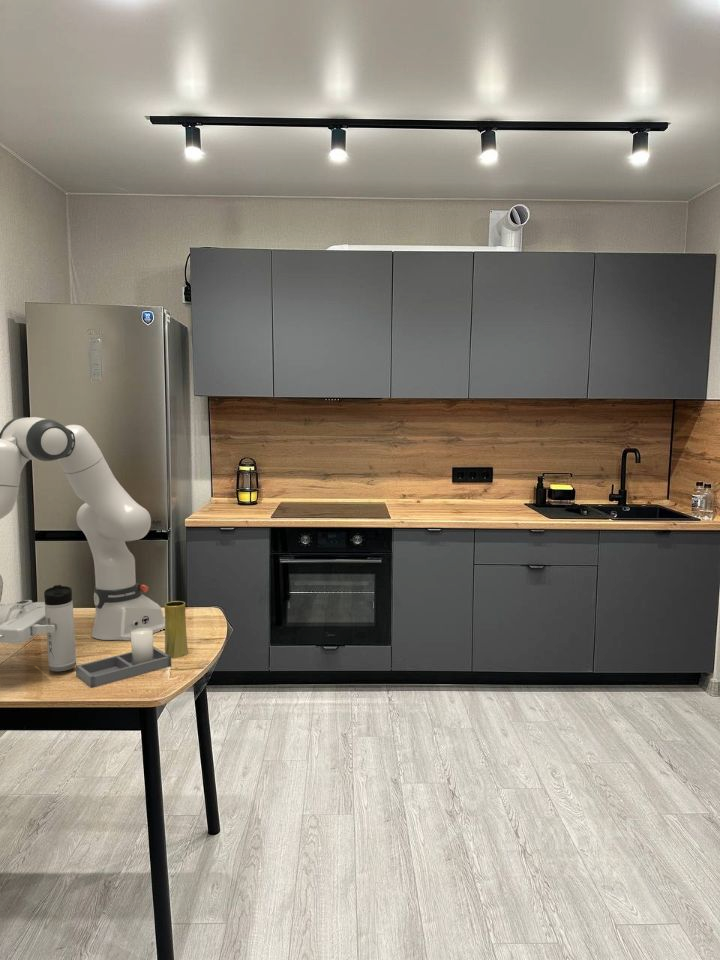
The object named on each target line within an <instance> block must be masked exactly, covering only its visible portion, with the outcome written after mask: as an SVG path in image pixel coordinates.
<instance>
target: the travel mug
mask: <svg viewBox="0 0 720 960" xmlns="http://www.w3.org/2000/svg"><path fill="white" fill-rule="evenodd" d="M43 594H44V595H43V596H44V602H45V617H46V625H48V624H56V625H57V630H56V631H55V632H53V633H46V647H47V658H48V659H47V661H48V669H49V670H50V671H52V672H65V671H69V670H71V669H73V668H75V667H76V666H77V654H76V653H77V652H76V639H75V638H76V636H75V621H74V619H75V618H74V603H73V590H72V587H70V586H66V585H62V584H60V585H59V584H56V585H53V586H52V587H48V588H47V589H45V590H44V592H43Z"/></svg>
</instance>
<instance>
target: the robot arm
mask: <svg viewBox="0 0 720 960" xmlns="http://www.w3.org/2000/svg"><path fill="white" fill-rule="evenodd" d="M29 461H42V462H53V461H57V463H58V464H59V466H60V467H61V469H62V471H63V473H64V475H65V478H66V479H67V481H68V482H69V484H70V486H71V488H72V489H73V491H74V494H75V495H76V496H77V497H78V499H81V501H82V502H84V503H83V504H81V506H80V507H79V509H78V510H77V512H76V524H77V526H78V528H79V529H80V530H81V531H82V532H83V534H84V536H85V538H86V540H87V542H88V545H89V548H90V551H91V554H92V558H93V564H94V578H95V579H94V580H95V586H94V588H93V590H94V591H93V601H94V606H95V611H94V613H95V614H94V623H93V626H92V627H93V628H92V632H91V637H92V638H94V639H97V640H101V641H102V640H103V641H131V631H132V630H135V629H138V628H151V629H152V630H153V634H154V633H158V632H161V631H160V630H162V631H164V630H163V629H165V616H164V613H163V610H162V606H160V604H158V603H157V602H155V601H154V600H152V599H151V598H149V597H148V596H146V595H144V594H143V593H147V592H148V591H149V586H147V585H146V584H141V583H138V582H137V580H136V559H135V555H134V554H133V553H132V552H131V551H130V550H129V548H128V547H127V545H126V544H127V543H126V542H132V541H137V540H141V539H143V538H144V537H146V536H147V535H148V533H149V532H150V529H151V526H152V517H151V514H150V512H149V511H148V510H147V509H146V508H144V507H143V506H142V505H140V504H139V503H138V502H137V501H135V500H134V499H133V497H131V495H130V494H129V493H128V492H127V490H125V488H123V487H124V486H122V485H121V484H120V482H119V481H118V480H117V479H116V477H115V475H114V473H113V472H112V470H111V468H110V467H109V466H110V465H109V464H108V462H107V461H106V459H105V456H104V454H103V453H102V451H101V448H99V445H98V444H97V442H96V441H95V439H94V438H93V437H92V435H91V434H90V433H89V432H88V430H87V429H86V428H85V427H84V426H82V425H79V424H69V425H64V424H62V423H60V422H59V421H56V420H53V419H50V418H49V419H48V418H44V417H38V416H32V417H26V416H20V417H16V418H12V419H10V420H9V421H8V422H6V424H4V426H3V427H2V428H1V430H0V520H1V519H3V518H5V517H6V516H8V515H9V514H10V513H11V512H12V510H13V509H14V507H15V505H16V502H17V500H18V499H17V498H18V495H19V488H20V483H21V474H22V471H23V469H24V467H25V465H26V464H27V462H29ZM3 589H4V582H3V578H2V576H1V574H0V602H1V601H2V595H3ZM56 630H57V625H56V624H48V625H46V617H45V601H35V602H33V600H31V599H23V600H21V601H18V602H13V603H11V602H10V603H0V644H1V643H2V644H15V645H18V644H24V643H26V642H27V641H29V640H30V639H32V638H33V637H35V636H38V635H42V634H43V635H44V634H47V633H53V632H55V631H56Z"/></svg>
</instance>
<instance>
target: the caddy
mask: <svg viewBox="0 0 720 960" xmlns="http://www.w3.org/2000/svg"><path fill="white" fill-rule="evenodd" d="M153 656H154V660H152V661H148V662H144V663H140V664H137V665H132V651H130V652H126V653H121V654H117V655H113V656H110V657H105V658H101V659H98V660H94V661H90V662H86V663H82V664H76V665H75V674H76V675H75V676H76V677H77V678H79V680H81V681H82V682H84V683H85V684H86V685H87V686H89V687H90V688H91V689H92V688H97V687H100V686H101V687H102V686H104V685H107V684H108V685H109V684H110V683H114V682H117V681H118V682H119V681H123V680H126V679H129V678H130V679H131V678H133V677H137V676H141V675H143V674H146V673H147V674H148V673H151V672H155V671H158V670H162V669H166V668H170V667H172V658H171V656H169V655H167V654H166V653H165V651H162V650H160V649H158V648H157V647H156V646H154V645H153Z"/></svg>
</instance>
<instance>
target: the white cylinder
mask: <svg viewBox="0 0 720 960" xmlns="http://www.w3.org/2000/svg"><path fill="white" fill-rule="evenodd" d="M130 641H131V652H132V665H137V664H140V663H144V662H148V661H152V660H154V656H153V646H154V633H153V630H152V629H151V628H138V629H135V630H132V631H131V640H130Z"/></svg>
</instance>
